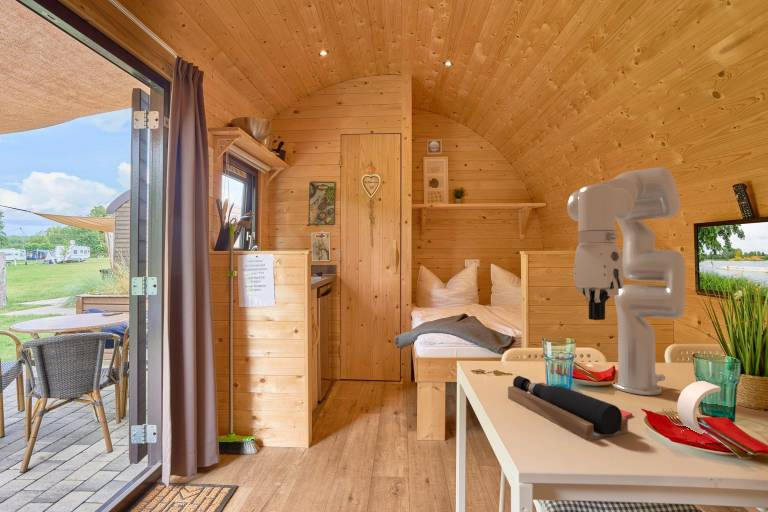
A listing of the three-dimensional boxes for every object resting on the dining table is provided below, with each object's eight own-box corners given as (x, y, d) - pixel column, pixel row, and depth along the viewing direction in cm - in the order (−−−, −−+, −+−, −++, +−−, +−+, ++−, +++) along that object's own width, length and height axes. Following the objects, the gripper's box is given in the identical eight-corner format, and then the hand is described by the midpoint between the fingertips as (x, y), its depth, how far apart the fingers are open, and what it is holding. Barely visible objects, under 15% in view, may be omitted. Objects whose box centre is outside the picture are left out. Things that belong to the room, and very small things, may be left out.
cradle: (542, 393, 115) (542, 382, 115) (627, 432, 89) (627, 418, 89) (508, 398, 112) (508, 386, 112) (586, 440, 86) (586, 425, 86)
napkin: (599, 405, 106) (599, 403, 106) (632, 415, 99) (632, 413, 99) (583, 412, 101) (583, 409, 101) (616, 422, 95) (616, 420, 95)
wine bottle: (605, 402, 86) (512, 369, 114) (599, 432, 85) (506, 391, 113) (624, 408, 89) (528, 373, 116) (618, 436, 88) (523, 395, 115)
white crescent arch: (721, 443, 84) (721, 387, 84) (692, 443, 84) (692, 387, 84) (704, 434, 89) (703, 380, 89) (677, 433, 89) (676, 380, 89)
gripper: (639, 238, 85) (639, 323, 84) (583, 241, 99) (583, 314, 99) (612, 237, 82) (612, 325, 82) (559, 240, 96) (559, 315, 96)
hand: (596, 319), depth 90 cm, fingers closed
